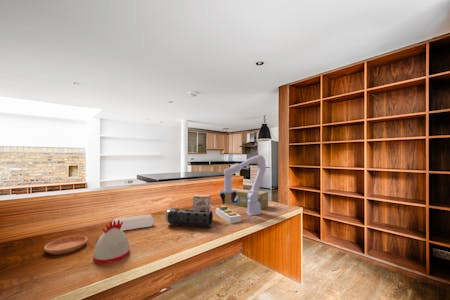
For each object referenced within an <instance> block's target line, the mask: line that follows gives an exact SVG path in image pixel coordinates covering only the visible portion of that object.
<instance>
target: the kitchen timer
mask: <svg viewBox="0 0 450 300" xmlns="http://www.w3.org/2000/svg"><path fill="white" fill-rule="evenodd" d="M113 221H114V220H113ZM113 221H109V225H108V224H106V225H105V227H106V229H104V228H103V227H102V232H103V233H102V234H101V235H100V237H99V238H98V240H97V242H96V244H95V247H94V250H93V256H92V257H93V259H92V261H93V262H94V263H95V264H99V265H104V264H111V263H115V262H119V261H121V260H122V259H125V258H126V257H127V256H128V255H129V254H130V252H131V247H130V243H129V239H128V237H127V234H126V233H125V232H124V230H123V231H122V230H120V228H121V226H122V224H123V222H121V224H120V220H118V222H117V225H116V222H115V221H114V223H113V226H112V222H113Z"/></svg>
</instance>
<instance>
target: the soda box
mask: <svg viewBox="0 0 450 300" xmlns="http://www.w3.org/2000/svg"><path fill="white" fill-rule="evenodd" d="M223 190H224V189H221V191H223ZM232 190H237V195H236V197H235V199H234V203H232V197H231V193H227V192H226V194H224V195H225V203H226V204H227V205H230V204H231V205H232V206H237V207H245V208H248V198H247V194H248V193H249V192H250V189H245V188H235V187H232ZM258 193H259V194H258V200H257V201H259V202H260V204H261V210H264V209H266V208H267V207H268V206H269V192H268V191H263V190H258ZM226 204H225V205H226ZM231 205H230V206H231Z"/></svg>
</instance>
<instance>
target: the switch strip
mask: <svg viewBox="0 0 450 300" xmlns="http://www.w3.org/2000/svg"><path fill="white" fill-rule="evenodd" d="M228 209H229V210H231V209H230V208H228V207H227V210H228ZM231 211H232V212H234V213H236V214H237V215H234V216H230V215H228V213H225V212H223V210H222V211H221V210H220V209H219V207H216V208H215V214H216V215H217V216H219V217H220V218H222V219H223V220H225V222H227V223H229V224H236V223H241V221H242V215H241V214H239V213H237V212H235V211H234V210H231ZM230 213H231V212H230Z"/></svg>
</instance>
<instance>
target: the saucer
mask: <svg viewBox="0 0 450 300" xmlns="http://www.w3.org/2000/svg"><path fill="white" fill-rule="evenodd" d="M88 240H89V239H88V237H87V236H85V235H71V236H66V237H62V238H57V239H55V240H52V241H50V242H48V243H46V244H45V245H44V251H45V252H46V253H48V254H50V255H54V256H55V255H64V254H68V253H73V252H74V251H77V250H80V248H83V247H84V245H85V244H86V243H88Z"/></svg>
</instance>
